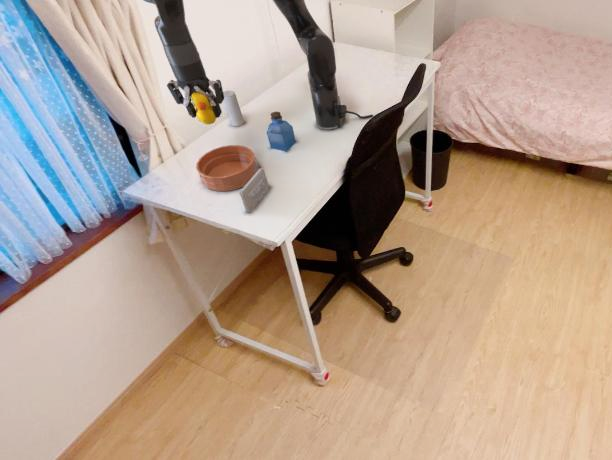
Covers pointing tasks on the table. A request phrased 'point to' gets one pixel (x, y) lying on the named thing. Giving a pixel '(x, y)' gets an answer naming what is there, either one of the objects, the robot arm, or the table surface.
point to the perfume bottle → (280, 133)
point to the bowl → (227, 167)
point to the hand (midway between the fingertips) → (206, 116)
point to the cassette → (254, 190)
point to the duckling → (203, 108)
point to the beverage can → (233, 109)
